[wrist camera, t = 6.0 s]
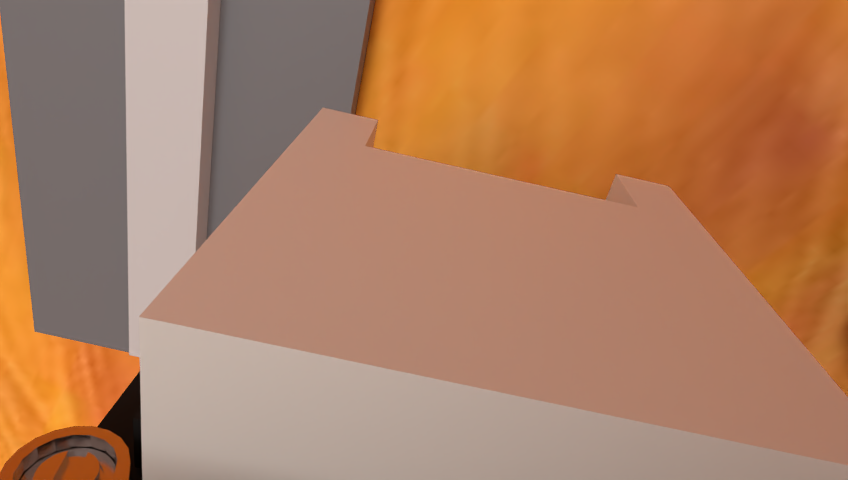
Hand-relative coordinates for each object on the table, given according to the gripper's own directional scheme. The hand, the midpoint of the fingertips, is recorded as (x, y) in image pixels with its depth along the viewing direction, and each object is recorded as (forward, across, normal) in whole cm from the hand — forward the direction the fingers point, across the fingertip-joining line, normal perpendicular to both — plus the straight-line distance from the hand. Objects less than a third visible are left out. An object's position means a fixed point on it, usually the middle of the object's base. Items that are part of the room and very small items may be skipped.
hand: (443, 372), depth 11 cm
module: (+2, 0, 0) cm, 2 cm away
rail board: (+16, +11, +3) cm, 20 cm away
